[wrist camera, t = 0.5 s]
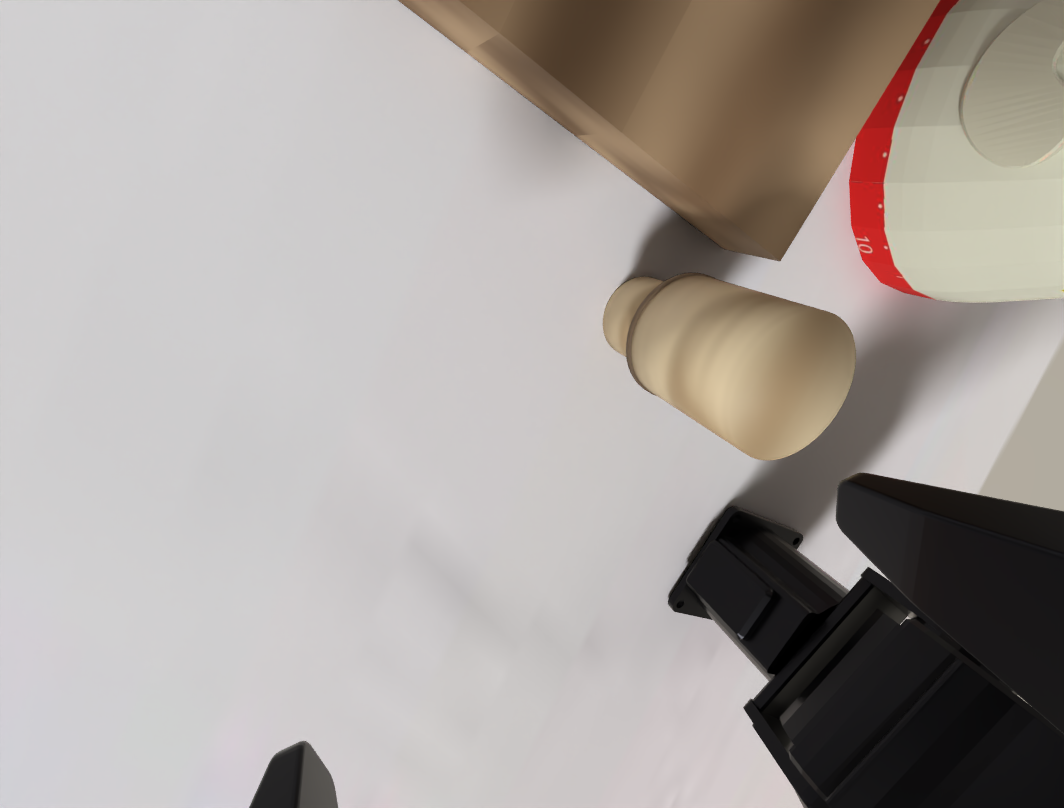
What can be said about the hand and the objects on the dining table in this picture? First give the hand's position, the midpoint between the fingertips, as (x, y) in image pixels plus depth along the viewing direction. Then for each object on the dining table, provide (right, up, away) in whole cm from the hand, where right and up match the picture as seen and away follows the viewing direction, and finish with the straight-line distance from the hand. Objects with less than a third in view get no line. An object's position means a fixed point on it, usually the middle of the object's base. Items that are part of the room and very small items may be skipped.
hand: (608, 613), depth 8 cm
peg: (+3, +7, +13) cm, 15 cm away
